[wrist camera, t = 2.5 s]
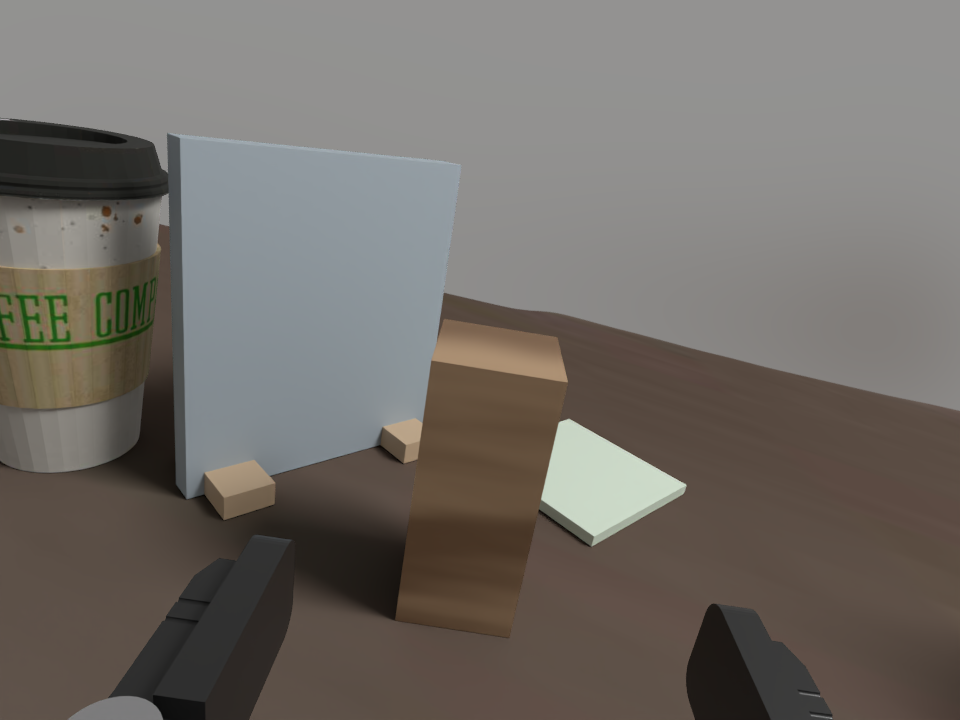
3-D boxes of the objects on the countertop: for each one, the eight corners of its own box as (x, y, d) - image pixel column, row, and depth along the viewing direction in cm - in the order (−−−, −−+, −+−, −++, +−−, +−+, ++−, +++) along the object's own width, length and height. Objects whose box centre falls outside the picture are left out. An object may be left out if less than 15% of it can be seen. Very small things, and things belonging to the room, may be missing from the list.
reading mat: (591, 546, 30) (594, 536, 30) (470, 459, 36) (471, 450, 36) (683, 493, 36) (686, 485, 36) (567, 426, 42) (569, 419, 42)
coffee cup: (15, 524, 25) (-38, 144, 20) (-97, 438, 29) (-166, 103, 24) (217, 440, 34) (218, 155, 28) (108, 382, 38) (90, 123, 32)
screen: (205, 526, 27) (203, 146, 21) (160, 461, 31) (147, 125, 25) (447, 450, 37) (491, 172, 31) (389, 407, 40) (418, 154, 35)
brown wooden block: (511, 638, 24) (570, 383, 20) (394, 620, 24) (431, 360, 20) (510, 561, 28) (559, 337, 24) (411, 546, 28) (444, 319, 24)
